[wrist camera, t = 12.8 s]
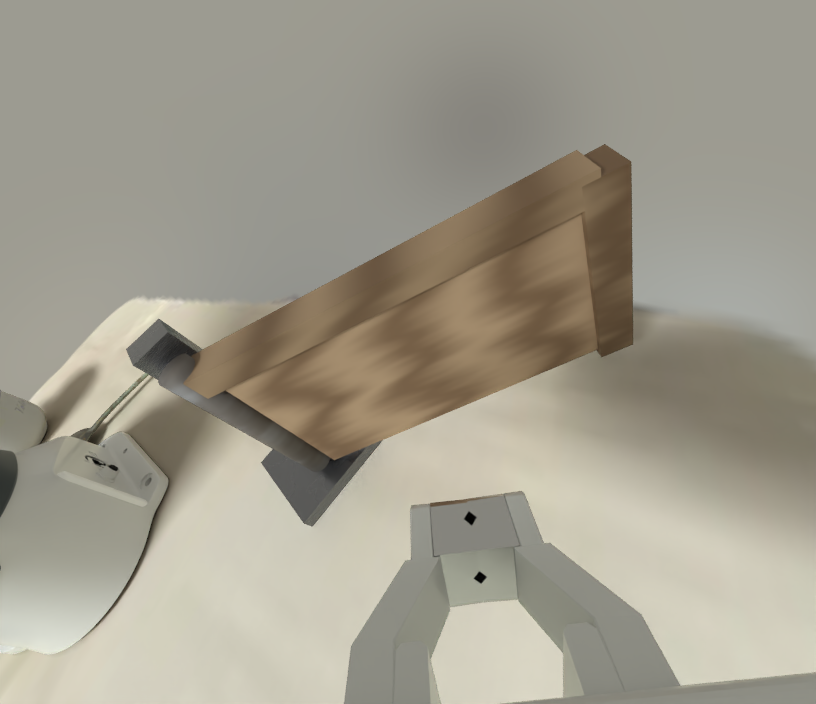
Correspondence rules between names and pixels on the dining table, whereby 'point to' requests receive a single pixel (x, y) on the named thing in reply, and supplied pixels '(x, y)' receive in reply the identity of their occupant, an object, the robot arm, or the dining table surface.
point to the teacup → (20, 423)
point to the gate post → (293, 479)
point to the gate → (433, 319)
